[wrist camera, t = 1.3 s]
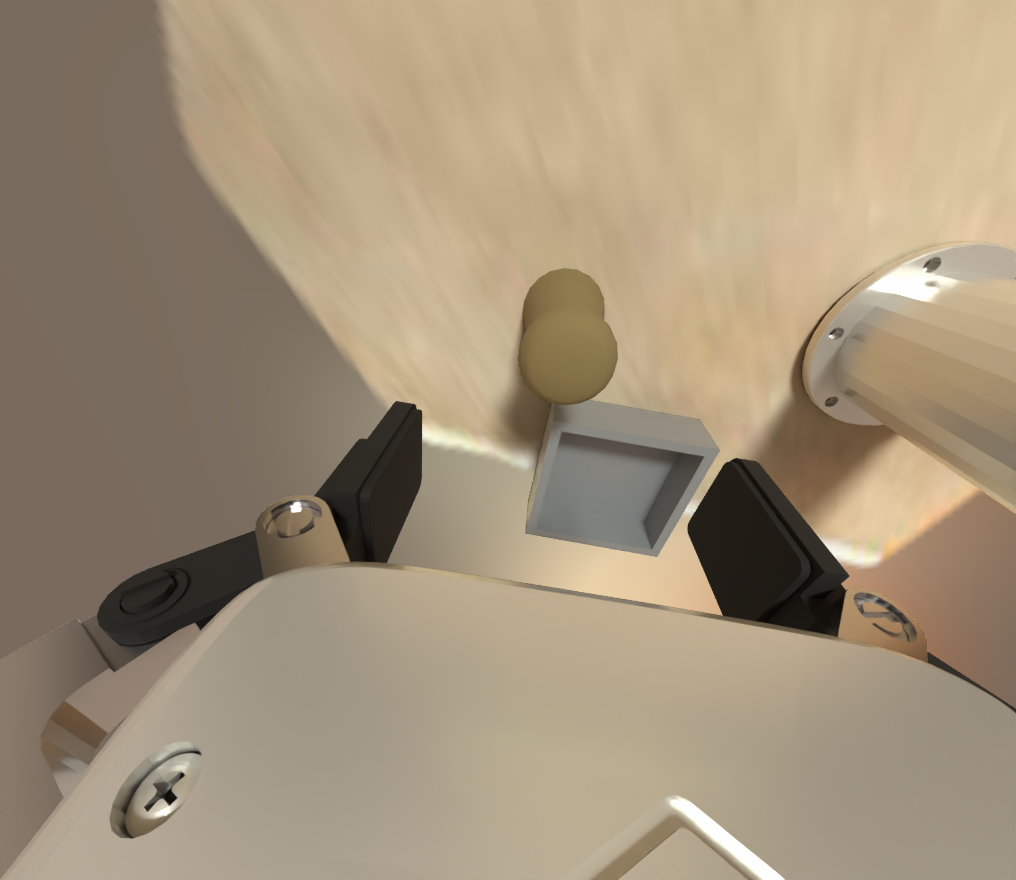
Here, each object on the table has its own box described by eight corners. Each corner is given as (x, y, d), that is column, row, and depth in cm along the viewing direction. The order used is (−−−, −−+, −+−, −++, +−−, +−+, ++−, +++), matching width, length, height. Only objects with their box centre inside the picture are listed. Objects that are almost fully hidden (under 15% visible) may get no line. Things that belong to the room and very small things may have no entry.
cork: (537, 361, 29) (530, 434, 20) (511, 286, 26) (488, 332, 17) (612, 337, 28) (641, 404, 18) (593, 254, 25) (617, 286, 15)
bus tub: (699, 419, 31) (719, 449, 27) (646, 521, 38) (657, 556, 34) (553, 393, 31) (553, 420, 27) (528, 500, 38) (525, 533, 34)
